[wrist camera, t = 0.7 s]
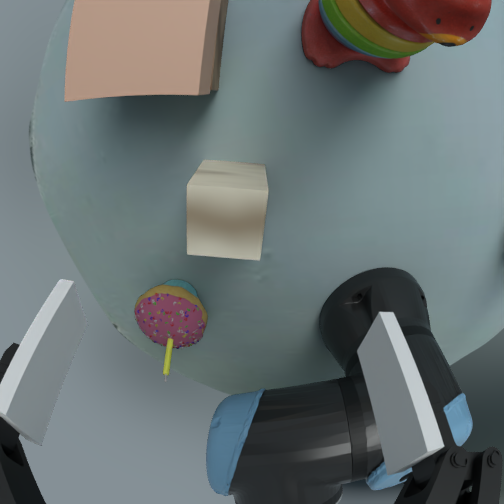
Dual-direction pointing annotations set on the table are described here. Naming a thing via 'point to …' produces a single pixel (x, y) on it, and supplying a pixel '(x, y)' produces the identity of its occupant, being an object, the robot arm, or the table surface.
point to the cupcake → (171, 317)
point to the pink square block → (140, 48)
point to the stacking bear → (386, 29)
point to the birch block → (227, 209)
